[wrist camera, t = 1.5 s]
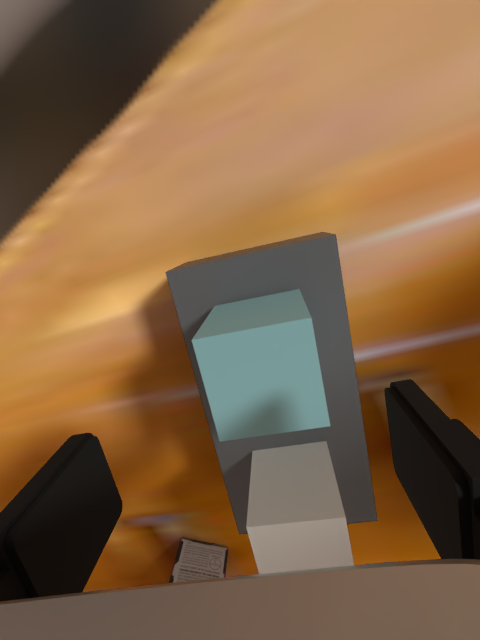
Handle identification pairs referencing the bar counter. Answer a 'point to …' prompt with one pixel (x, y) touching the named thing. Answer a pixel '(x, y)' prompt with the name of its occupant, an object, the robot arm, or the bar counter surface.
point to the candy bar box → (199, 561)
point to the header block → (298, 446)
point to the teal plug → (261, 367)
